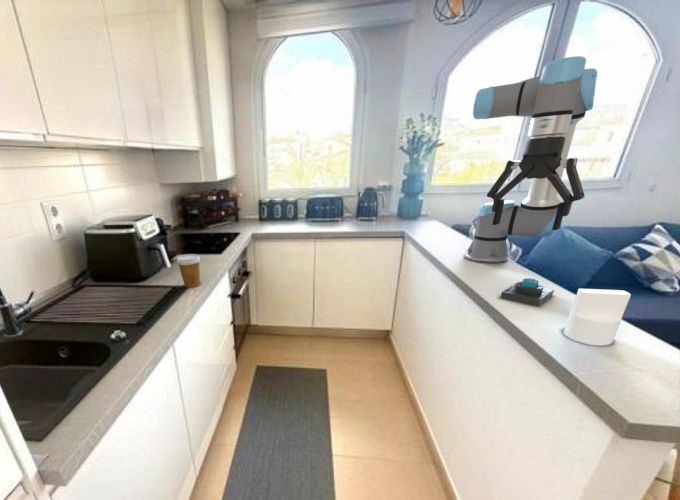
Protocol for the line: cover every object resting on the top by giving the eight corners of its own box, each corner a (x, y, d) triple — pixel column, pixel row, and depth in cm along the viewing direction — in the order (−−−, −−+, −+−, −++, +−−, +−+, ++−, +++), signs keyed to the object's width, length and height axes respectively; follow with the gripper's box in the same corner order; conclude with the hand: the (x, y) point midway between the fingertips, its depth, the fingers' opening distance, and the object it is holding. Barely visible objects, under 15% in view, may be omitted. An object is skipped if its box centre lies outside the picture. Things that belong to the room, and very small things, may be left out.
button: (524, 283, 110) (525, 277, 109) (539, 286, 107) (540, 280, 106) (519, 286, 108) (520, 280, 107) (534, 289, 105) (536, 283, 104)
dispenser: (515, 288, 116) (518, 277, 114) (552, 295, 108) (555, 284, 107) (500, 298, 110) (503, 286, 108) (537, 307, 102) (541, 294, 100)
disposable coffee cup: (208, 281, 146) (204, 254, 141) (195, 289, 138) (190, 260, 133) (189, 280, 150) (185, 253, 145) (176, 287, 142) (171, 259, 137)
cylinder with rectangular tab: (572, 343, 83) (588, 297, 78) (557, 326, 91) (571, 284, 86) (620, 347, 80) (640, 300, 75) (601, 329, 88) (618, 286, 83)
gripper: (483, 141, 90) (468, 224, 98) (612, 131, 71) (579, 234, 80) (496, 141, 94) (480, 220, 102) (622, 131, 75) (590, 229, 83)
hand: (524, 226), depth 91 cm, fingers open, 13 cm apart
